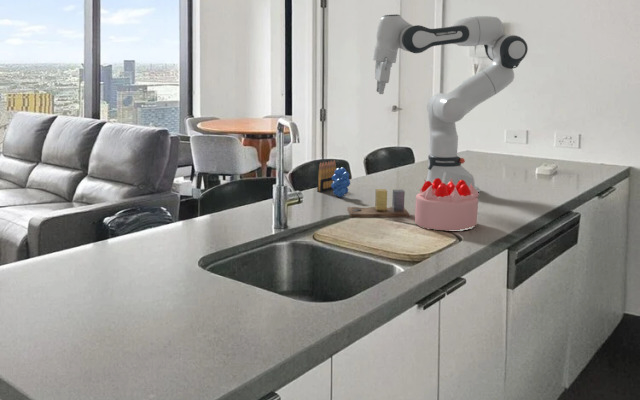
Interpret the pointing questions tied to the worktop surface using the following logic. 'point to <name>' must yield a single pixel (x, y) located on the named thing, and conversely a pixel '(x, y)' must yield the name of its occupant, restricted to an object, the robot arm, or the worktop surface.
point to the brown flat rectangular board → (375, 212)
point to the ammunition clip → (326, 176)
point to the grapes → (340, 182)
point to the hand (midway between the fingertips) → (379, 93)
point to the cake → (446, 205)
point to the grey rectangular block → (398, 200)
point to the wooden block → (381, 199)
